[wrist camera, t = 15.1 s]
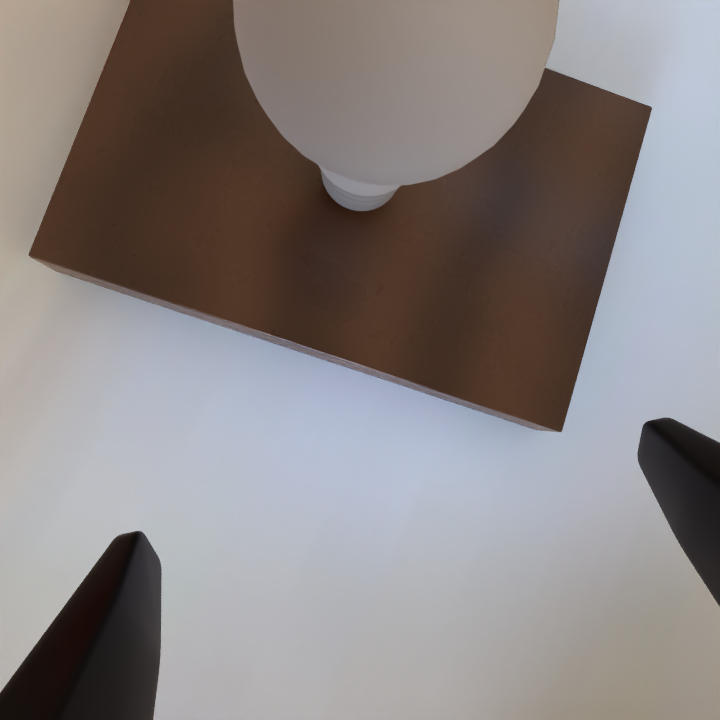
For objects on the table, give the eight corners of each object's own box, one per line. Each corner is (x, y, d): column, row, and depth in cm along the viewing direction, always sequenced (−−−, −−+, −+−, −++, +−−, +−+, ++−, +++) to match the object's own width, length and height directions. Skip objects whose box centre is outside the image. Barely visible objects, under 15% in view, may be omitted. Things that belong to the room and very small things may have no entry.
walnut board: (622, 133, 22) (653, 106, 20) (538, 430, 21) (562, 432, 19) (174, -30, 21) (160, -75, 19) (55, 271, 20) (27, 255, 18)
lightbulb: (389, 64, 19) (491, -376, 9) (482, 217, 19) (708, -35, 8) (231, 147, 19) (123, -219, 8) (326, 307, 19) (351, 159, 8)
